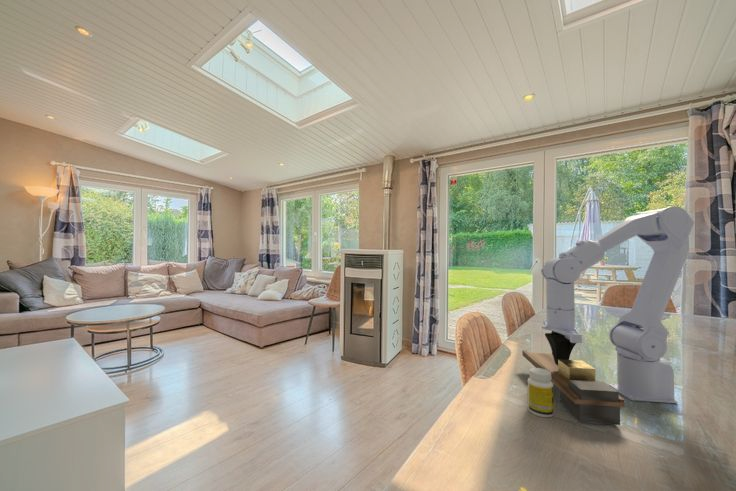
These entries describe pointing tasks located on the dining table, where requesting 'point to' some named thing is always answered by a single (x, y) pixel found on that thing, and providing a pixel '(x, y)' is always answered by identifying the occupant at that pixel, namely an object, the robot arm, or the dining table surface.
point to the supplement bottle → (540, 393)
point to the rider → (575, 371)
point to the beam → (582, 394)
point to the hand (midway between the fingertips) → (561, 365)
